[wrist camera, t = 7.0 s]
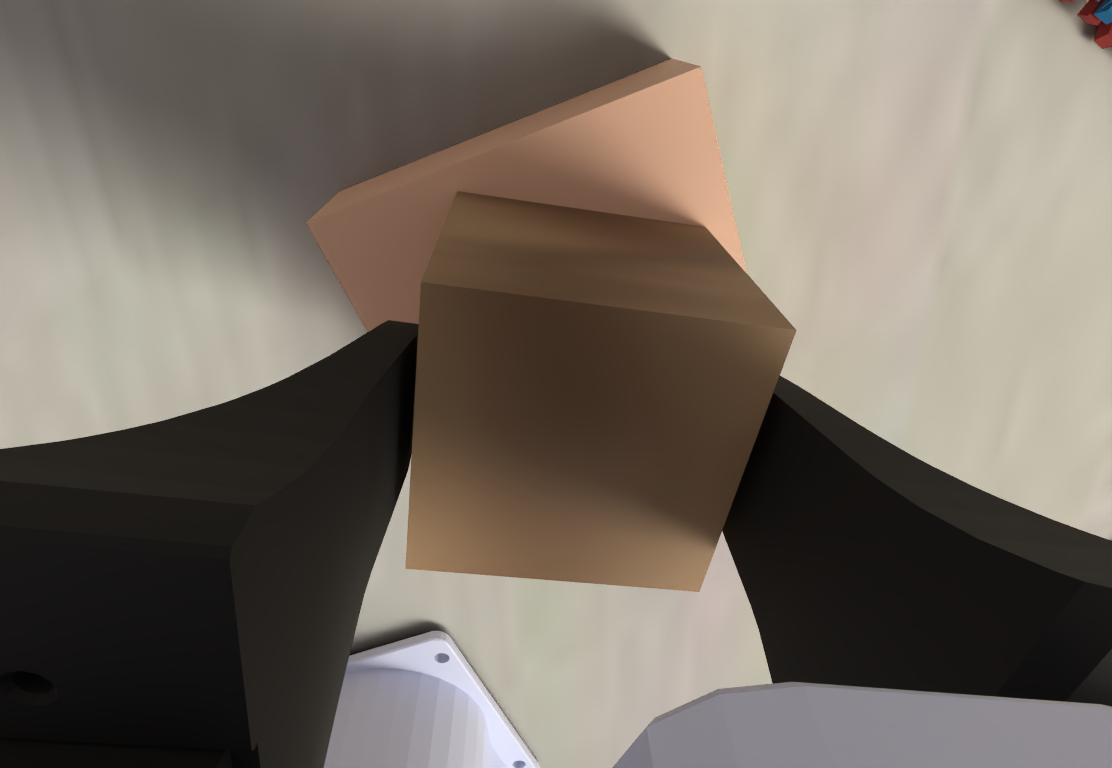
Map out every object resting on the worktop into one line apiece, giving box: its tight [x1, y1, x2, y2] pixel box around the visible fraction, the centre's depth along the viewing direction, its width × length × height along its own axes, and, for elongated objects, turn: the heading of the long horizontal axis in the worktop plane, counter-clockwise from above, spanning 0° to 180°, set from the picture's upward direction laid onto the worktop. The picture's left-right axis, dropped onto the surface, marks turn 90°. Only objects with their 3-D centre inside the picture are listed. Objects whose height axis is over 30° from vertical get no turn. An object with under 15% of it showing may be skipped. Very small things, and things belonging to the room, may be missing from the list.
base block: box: [306, 59, 746, 332], centre depth 15 cm, size 8×8×3 cm
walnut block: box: [406, 191, 796, 592], centre depth 12 cm, size 5×5×5 cm
